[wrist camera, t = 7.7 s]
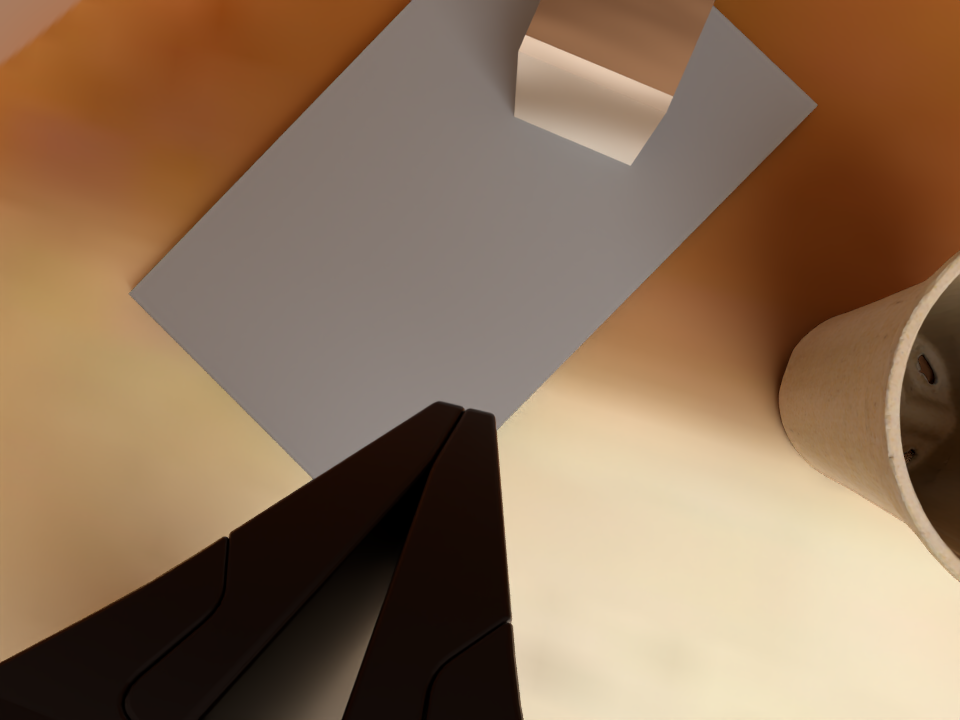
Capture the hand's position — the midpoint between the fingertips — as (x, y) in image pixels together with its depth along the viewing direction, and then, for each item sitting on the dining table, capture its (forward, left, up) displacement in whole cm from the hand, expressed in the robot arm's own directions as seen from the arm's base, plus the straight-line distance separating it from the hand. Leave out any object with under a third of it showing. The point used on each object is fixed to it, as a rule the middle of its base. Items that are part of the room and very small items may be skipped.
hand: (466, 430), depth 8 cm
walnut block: (+8, +4, -11) cm, 14 cm away
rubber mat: (+4, +5, -13) cm, 15 cm away
